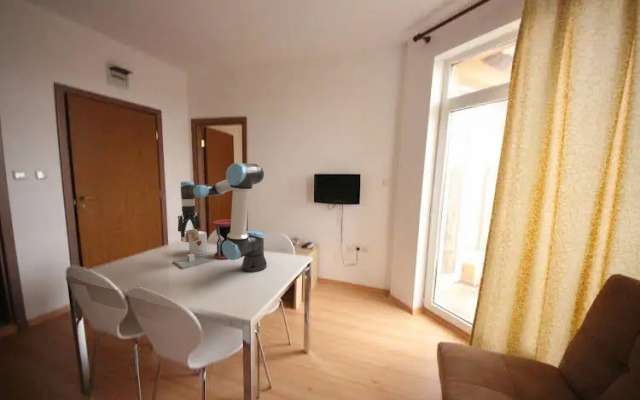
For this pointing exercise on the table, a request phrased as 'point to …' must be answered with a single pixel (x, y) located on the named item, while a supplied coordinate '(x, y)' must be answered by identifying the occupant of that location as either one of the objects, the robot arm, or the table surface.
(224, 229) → the hourglass
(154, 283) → the table surface
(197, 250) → the supplement box
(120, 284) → the table surface
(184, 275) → the table surface
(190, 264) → the plate
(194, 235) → the brown cardboard crate
